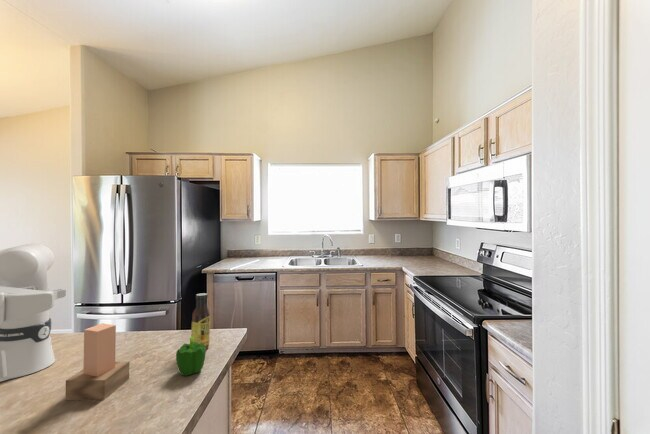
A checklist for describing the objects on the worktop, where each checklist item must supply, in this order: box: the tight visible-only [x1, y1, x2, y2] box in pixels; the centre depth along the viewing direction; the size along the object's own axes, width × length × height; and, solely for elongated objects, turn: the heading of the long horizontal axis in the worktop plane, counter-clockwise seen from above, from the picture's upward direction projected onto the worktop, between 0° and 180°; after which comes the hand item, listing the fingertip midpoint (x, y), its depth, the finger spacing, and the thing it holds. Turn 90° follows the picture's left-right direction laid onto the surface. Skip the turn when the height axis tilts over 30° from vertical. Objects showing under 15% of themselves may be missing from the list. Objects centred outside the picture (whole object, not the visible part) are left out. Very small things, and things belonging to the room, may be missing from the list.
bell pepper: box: [175, 336, 207, 376], centre depth 90 cm, size 8×8×10 cm
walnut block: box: [64, 361, 130, 401], centre depth 80 cm, size 10×10×5 cm
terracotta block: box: [82, 323, 117, 376], centre depth 81 cm, size 5×5×12 cm
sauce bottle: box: [190, 292, 211, 350], centre depth 106 cm, size 7×6×20 cm
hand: (49, 291), depth 69 cm, fingers open, 8 cm apart
